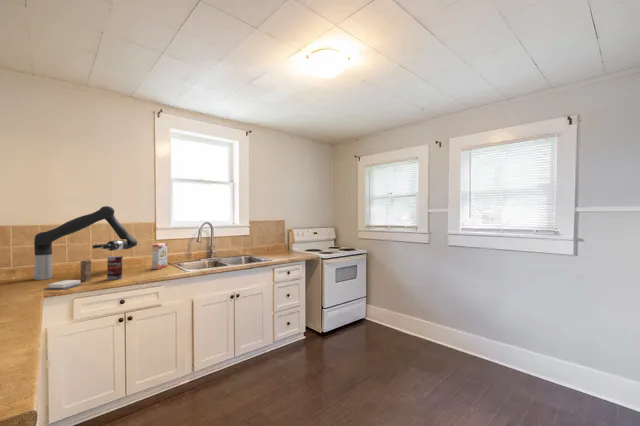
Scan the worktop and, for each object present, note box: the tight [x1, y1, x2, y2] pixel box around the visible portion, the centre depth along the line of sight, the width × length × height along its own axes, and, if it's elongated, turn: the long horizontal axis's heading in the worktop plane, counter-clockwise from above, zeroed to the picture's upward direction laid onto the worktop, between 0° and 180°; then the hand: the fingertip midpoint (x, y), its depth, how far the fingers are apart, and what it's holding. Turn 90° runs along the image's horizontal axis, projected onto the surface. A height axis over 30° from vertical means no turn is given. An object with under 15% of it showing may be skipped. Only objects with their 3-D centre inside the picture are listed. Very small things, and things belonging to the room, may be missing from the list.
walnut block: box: [80, 259, 92, 283], centre depth 208 cm, size 4×4×14 cm
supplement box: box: [106, 255, 123, 281], centre depth 215 cm, size 9×5×16 cm, turn 117°
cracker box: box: [151, 242, 168, 270], centre depth 257 cm, size 14×6×21 cm, turn 179°
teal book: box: [48, 279, 81, 288], centre depth 193 cm, size 10×2×12 cm
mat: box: [44, 283, 83, 290], centre depth 192 cm, size 14×12×1 cm
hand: (98, 247), depth 222 cm, fingers open, 8 cm apart
